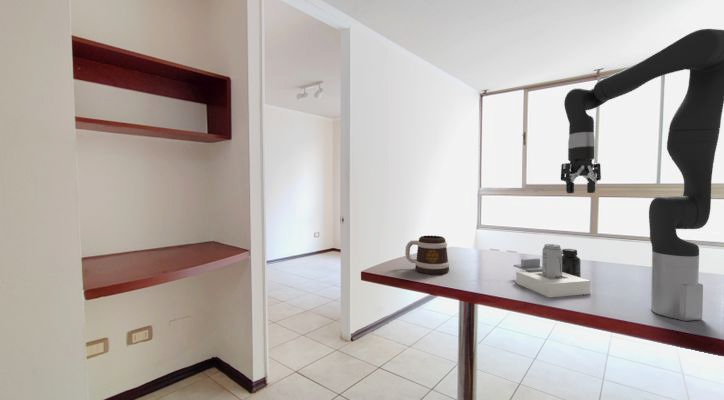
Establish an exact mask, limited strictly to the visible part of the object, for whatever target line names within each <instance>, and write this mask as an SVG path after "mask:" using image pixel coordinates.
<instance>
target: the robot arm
mask: <svg viewBox="0 0 724 400" xmlns="http://www.w3.org/2000/svg"><path fill="white" fill-rule="evenodd" d="M684 70H688V71H689V77H688V78H689V79H688V85H687V86H688V87H687V90H686V94H685V96H684V98H683V100H682V102H681V104H680V105H679V107H678V108H677V110H676V111H675V113H674V115H673V116H672V119H671V121H670V124H669V128H668V134H667V142H666V149H667V153H668V154H669V157H670V159H671V160H672V162H673V163H674V164H675V165H676V167H677V168H678V170H679V172H680V173H681V175H682V178H683V194H682V195H661V196H657V197H654V198H653V199H652V200H651V202H650V204H649V207H648V224H649V240H650V243H651V247H652V249H651V281H650V282H651V287H650V288H651V291H650V292H651V293H650V296H651V297H650V299H651V300H650V302H651V303H650V310H651V311H652V312H654V314H658V315H659V316H662V317H663V316H664V317H667V318H669V319H670V318H671V319H674V320H675V319H676V320H680V321H683V322H689V321H697V320H703V309H704V308H703V307H704V306H703V305H704V304H703V303H704V285H703V284H702V283H699V279H700V278H699V269H700V268H699V267H700V246H699V245H698V244H696V243H693V242H690V241H688V240H685V239H682V238H680V237H679V236H678V235H677V230H699V229H701V228H704V226H705V225H707V223H708V221H709V219H710V214H711V208H712V207H711V205H712V177H713V169H714V163H715V155H716V151H717V146H718V142H719V135H720V130H721V123H722V121H721V120H722V114H723V109H724V29H717V28H715V29H714V28H701V29H697V30H694V31H692V32H690V33H687V34H686V35H684V36H683V37H681V38H678V39H677V40H676V41H674V42H672V43H671V44H669V45H667V46H666V47H664V48H662V49H661V50H659V51H657V52H656V53H654V54H652V55H650V56H649V57H647V58H646V59H643V60H641V61H640V62H638V63H636V64H634V65H631V66H630V67H627V68H625V69H623V70H621V71H619V72H616V73H614V74H611V75H609V76H607V77H604V78H602V79H600V80H599V81H597V82H596V83H595V85H594V86H593V88H589V89H587V88H573V89H571V90H570V91H568V92H567V94H566V96H565V97H564V102H563V103H564V104H563V105H564V109H565V114H566V117H567V120H568V123H569V127H568V129H569V130H568V131H569V132H568V136H569V137H568V140H567V143H568V146H567V150H568V151H567V160H568V161H569V162H565V163H561V165H560V167H561V169H560V181H563V182H565V184H566V185H565V191H566V193H567V194H574V193H575V180H576V179H577V178H578V177H583V178H585V180H586V182H587V183H586V184H587V185H586V187H587V188H586V192H587V194H594V193H595V192H596V182H598V181H601V179H602V170H601V163H600V162H599V163H593V160H595V154H596V153H595V152H596V151H595V150H596V149H595V147H596V146H595V144H596V143H595V125H594V124H595V121H594V117H592V116H591V115H590V114H588V113H587V111H590V110H594V109H597V108H598V107H600V106H602V105H603V104H605V103H607V102H608V101H610V100H612V99H616V98H619V97H620V96H623V95H626V94H628V93H631V92H633V91H635V90H637V89H638V88H640V87H642V86H643V85H645V84H646V83H648V82H650V81H652V80H654V79H657V78H659V77H662V76H665V75H669V74H673V73H675V72H680V71H684Z"/></svg>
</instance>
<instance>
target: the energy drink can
mask: <svg viewBox="0 0 724 400" xmlns="http://www.w3.org/2000/svg"><path fill="white" fill-rule="evenodd" d="M562 249H563V248H562V247H561V245H559V244H554V243H545V244H544V246H543V248H542V255H541V256H542V259H541V260H542V263H541V264H542V265H541V267H542V277H545V278H548V279H562V256H563V254H562Z"/></svg>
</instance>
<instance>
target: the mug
mask: <svg viewBox="0 0 724 400" xmlns="http://www.w3.org/2000/svg"><path fill="white" fill-rule="evenodd" d="M413 245H417V249H416V250H417V252H416V258H413V257H411V255H410V254H411V247H412V246H413ZM447 247H448V242H447V241H446V238H445V237H443V236H440V235H422V236H420V237H419V238H418V240H415V239H414V240H410V241H409V242H407V244H406V246H405V251H404V252H405V258H406V260H407V261H408V262H410V263H411V264H415V270H416V271H417V272H418V273H421V274H425V275H438V276H439V275H444V274H447V273H448V272H450V264H451V263H450V261H449V258H448V249H447Z"/></svg>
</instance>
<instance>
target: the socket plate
mask: <svg viewBox="0 0 724 400" xmlns="http://www.w3.org/2000/svg"><path fill="white" fill-rule="evenodd" d="M515 284H517V285H519V286H521V287H525V288H526V289H528V290H531V291H533V292H536V293H538V294H541V295H543V296H545V297H547V298H559V297H570V296H581V295H583V294H584V295H591V280H589V279H586V278H582V277H581V278H580V277H577V276H573V275H570V274H567V273H564V272H562V279H548V278H545V277H542V271H530V272H529V271H526V270H519V271H518V270H517V271H516V272H515Z"/></svg>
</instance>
